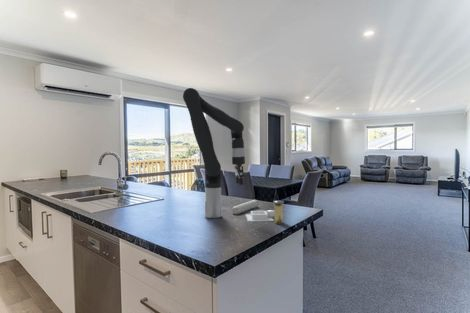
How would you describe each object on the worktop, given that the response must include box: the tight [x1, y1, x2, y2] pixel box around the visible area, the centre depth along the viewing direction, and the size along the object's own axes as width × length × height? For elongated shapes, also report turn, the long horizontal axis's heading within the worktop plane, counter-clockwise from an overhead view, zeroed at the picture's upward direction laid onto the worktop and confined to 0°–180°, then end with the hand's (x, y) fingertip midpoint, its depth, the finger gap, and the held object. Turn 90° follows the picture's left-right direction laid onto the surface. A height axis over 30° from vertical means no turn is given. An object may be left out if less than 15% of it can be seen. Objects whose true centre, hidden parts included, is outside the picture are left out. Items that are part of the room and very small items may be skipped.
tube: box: [231, 199, 260, 215], centre depth 167 cm, size 5×5×25 cm
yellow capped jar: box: [272, 200, 285, 225], centre depth 139 cm, size 6×6×11 cm
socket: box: [245, 209, 274, 223], centre depth 149 cm, size 18×14×4 cm
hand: (239, 184), depth 152 cm, fingers open, 8 cm apart
